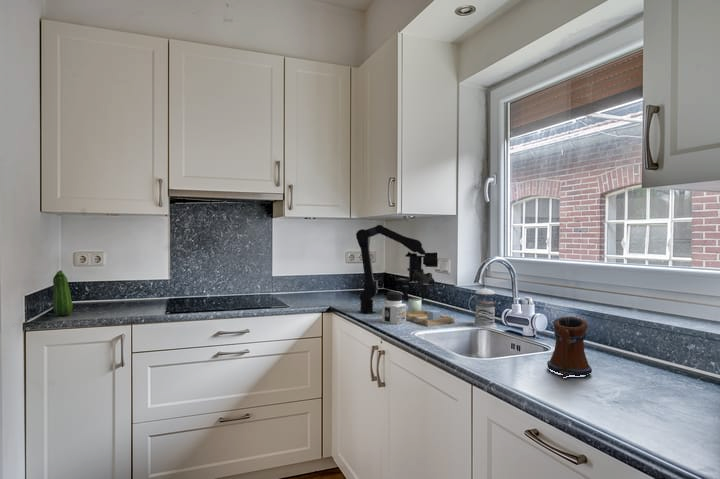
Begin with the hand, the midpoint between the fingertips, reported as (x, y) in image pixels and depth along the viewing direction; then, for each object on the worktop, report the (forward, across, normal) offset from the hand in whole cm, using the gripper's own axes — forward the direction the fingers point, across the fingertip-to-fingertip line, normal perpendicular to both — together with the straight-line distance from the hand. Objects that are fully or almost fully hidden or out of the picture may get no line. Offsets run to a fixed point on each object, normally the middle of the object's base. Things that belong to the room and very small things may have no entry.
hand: (414, 300), depth 208 cm
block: (+6, -3, -18) cm, 19 cm away
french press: (+7, +13, -31) cm, 34 cm away
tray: (+7, -3, -13) cm, 15 cm away
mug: (+7, -13, -90) cm, 91 cm away
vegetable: (+8, -143, +63) cm, 156 cm away
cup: (+7, 0, 0) cm, 7 cm away
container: (+7, -18, -10) cm, 22 cm away
